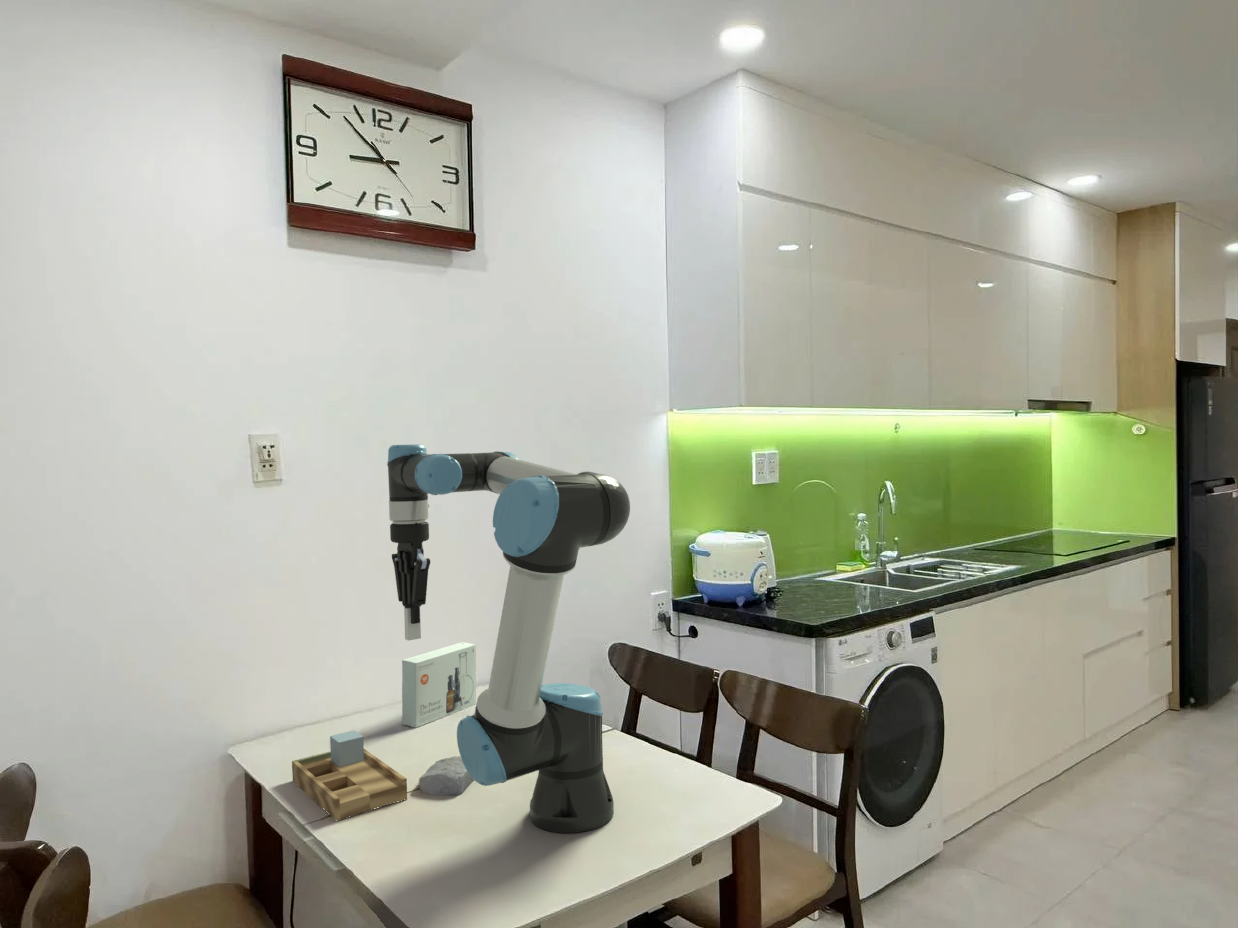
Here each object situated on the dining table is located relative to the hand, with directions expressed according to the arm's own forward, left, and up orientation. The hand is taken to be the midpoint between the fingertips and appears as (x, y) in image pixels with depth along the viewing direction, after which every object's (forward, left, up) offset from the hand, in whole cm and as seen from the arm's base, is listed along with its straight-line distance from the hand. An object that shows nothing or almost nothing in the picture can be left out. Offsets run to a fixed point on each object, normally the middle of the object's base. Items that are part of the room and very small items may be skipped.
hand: (413, 638), depth 169 cm
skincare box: (+33, -22, -29) cm, 49 cm away
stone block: (-6, -4, -29) cm, 30 cm away
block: (+11, +10, -25) cm, 30 cm away
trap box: (+4, +13, -28) cm, 31 cm away
